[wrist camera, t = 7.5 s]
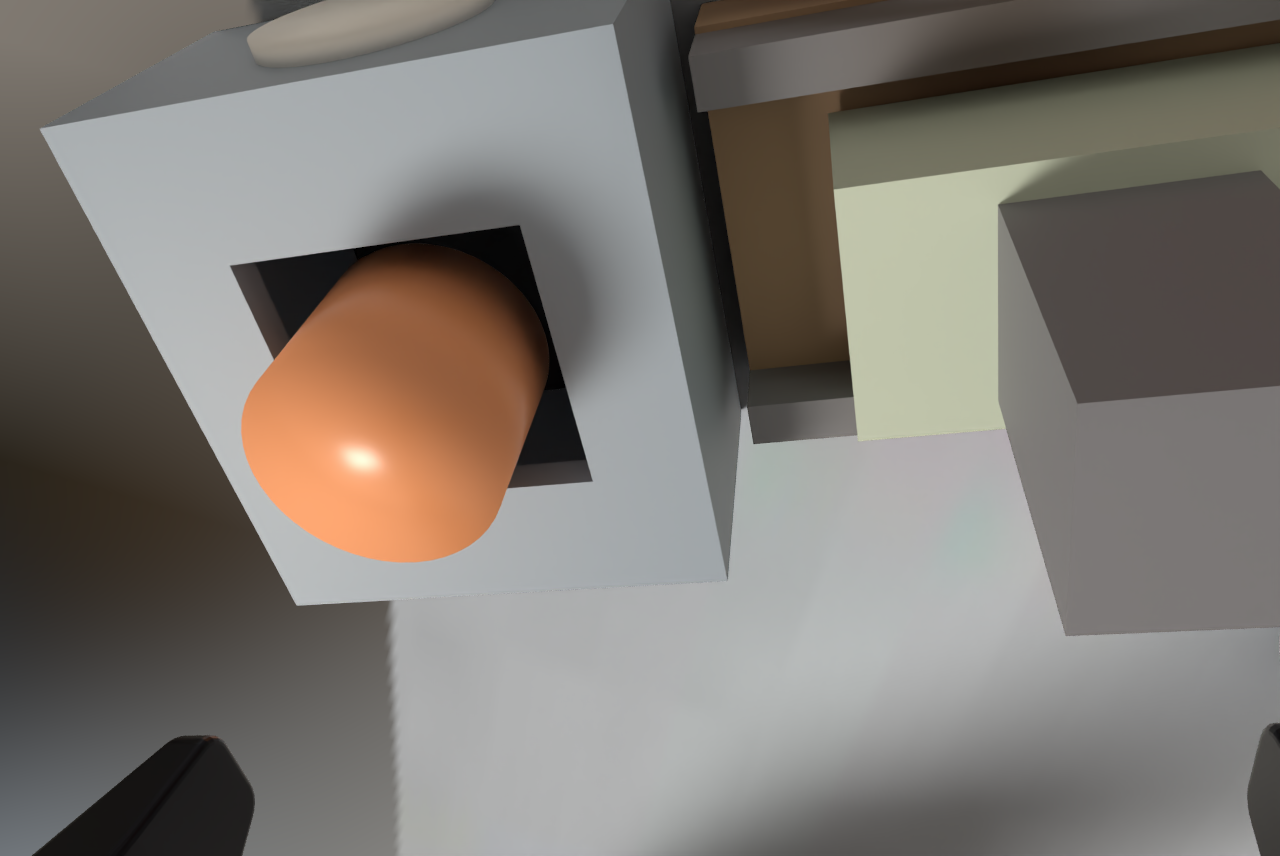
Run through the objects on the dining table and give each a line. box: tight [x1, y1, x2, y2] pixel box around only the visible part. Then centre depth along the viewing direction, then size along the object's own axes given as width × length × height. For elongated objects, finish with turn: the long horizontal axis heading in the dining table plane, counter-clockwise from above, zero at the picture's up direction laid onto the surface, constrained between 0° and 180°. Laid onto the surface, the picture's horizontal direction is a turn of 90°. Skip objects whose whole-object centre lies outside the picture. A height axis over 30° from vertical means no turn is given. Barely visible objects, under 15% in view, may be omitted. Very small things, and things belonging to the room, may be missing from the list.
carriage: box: [828, 43, 1280, 636], centre depth 13 cm, size 7×4×8 cm, turn 102°
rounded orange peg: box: [241, 243, 549, 563], centre depth 15 cm, size 4×4×3 cm
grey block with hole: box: [40, 0, 741, 605], centre depth 17 cm, size 8×9×5 cm
